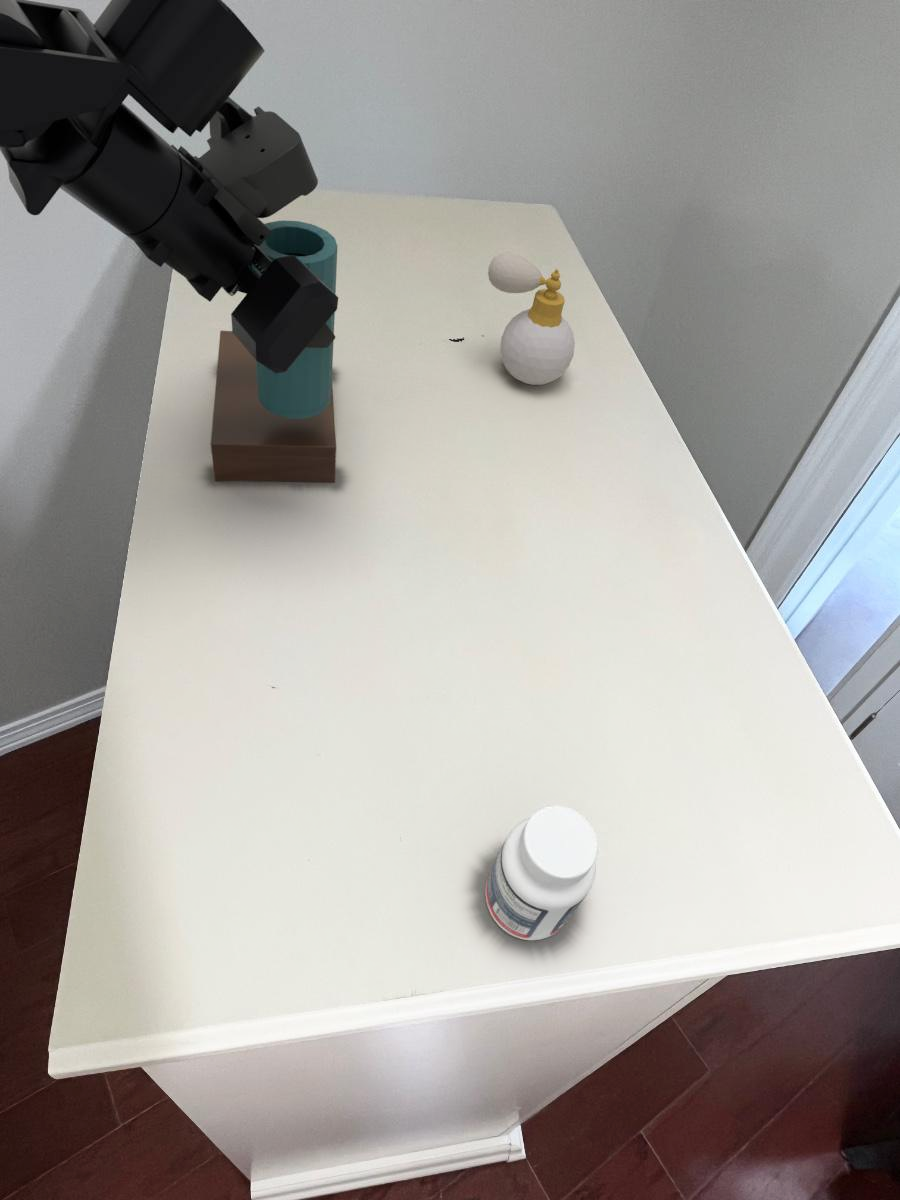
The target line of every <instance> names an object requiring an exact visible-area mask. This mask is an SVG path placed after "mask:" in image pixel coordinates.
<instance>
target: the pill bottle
mask: <svg viewBox="0 0 900 1200" xmlns="http://www.w3.org/2000/svg"><path fill="white" fill-rule="evenodd" d="M597 838H598V837H597V833H596V832H595V829H594V827H593V826H592V825H591V823H590V821H588V820H587V818H586V817H585V816H584V815H582V814H581V813H580V812H578V811H577V810H575V809H573V808H571V807H567V806H564V805H555V804H554V805H547V806H544V807H542V808H540V809H538V810H536V811H534V813H533V814H531V816H530V817H528V818H526V819H523V820H521V821H520V822H518V823H517V824H516V825H515V826H514V827H513V828H512V829H511V830H510V832H509V833H508V835H507V836H506V838H505V840H504V841H503V844H502V846H501V849H500V850H499V852H498V854H497V857H496V859H495V861H494V863H493V865H492V867H491V868H490V871H489V873H488V877H487V880H486V883H485V901H486V905H487V908H488V911H489V913H490V916H491V918H492V919H493V920H494V922H495V923H496V924H497V925H498V926H499V928H501V929H502V930H503V931H504V932H506V933H507V934H509V935H510V936H512V937H514V938H516V939H517V938H518V939H521V940H525V941H538V940H544V939H547V938H549V937H551V936H553V935H555V934H556V933H557V932H558V931H560V930H561V929H562V928H563V927H564V926H565V924H566V922H567V921H568V920H569V919H570V918H571V917H572V915H573V914H574V913H575V911H576V910H577V908H578V907H579V906H580V905H581V903H582V902H583V901H584V899H585V898H586V897H587V896H588V894H589V893H590V890H591V889H592V887H593V884H594V881H595V878H596V873H597V862H596V860H597V856H598V851H599V843H598V839H597Z"/></svg>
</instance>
